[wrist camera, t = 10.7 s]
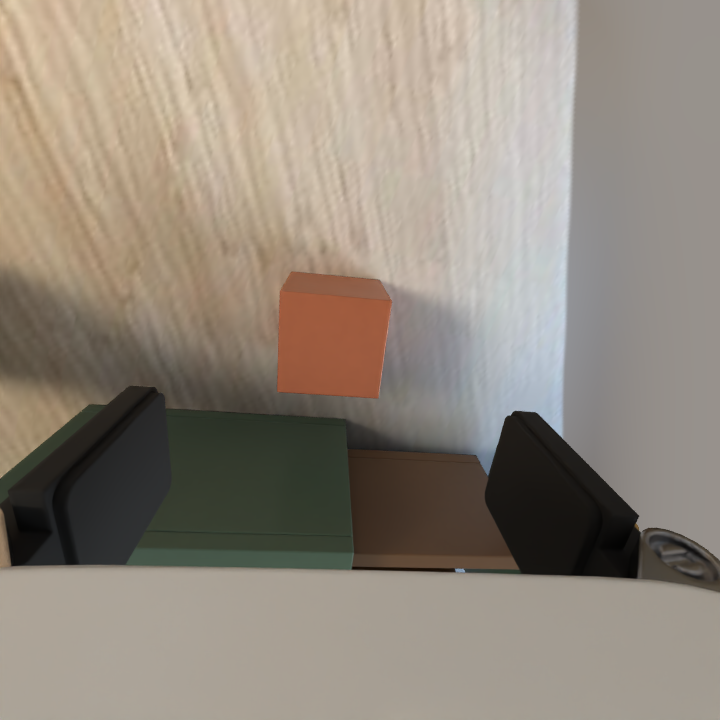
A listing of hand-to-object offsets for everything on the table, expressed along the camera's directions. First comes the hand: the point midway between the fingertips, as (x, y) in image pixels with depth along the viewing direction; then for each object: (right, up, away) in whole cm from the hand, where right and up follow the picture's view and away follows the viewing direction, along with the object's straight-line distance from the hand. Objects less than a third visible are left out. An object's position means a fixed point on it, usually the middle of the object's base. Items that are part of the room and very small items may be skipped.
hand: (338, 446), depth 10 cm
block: (-1, +5, +10) cm, 11 cm away
